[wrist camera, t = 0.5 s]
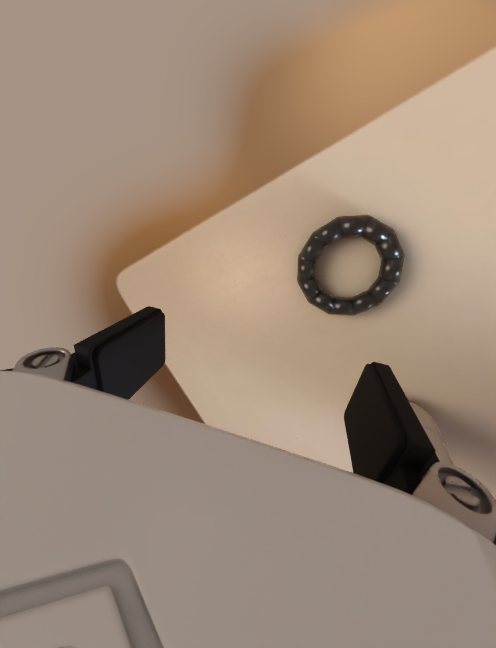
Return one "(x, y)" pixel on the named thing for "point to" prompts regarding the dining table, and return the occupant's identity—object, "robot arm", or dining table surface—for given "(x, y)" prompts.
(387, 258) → the ring
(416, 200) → the dining table surface
